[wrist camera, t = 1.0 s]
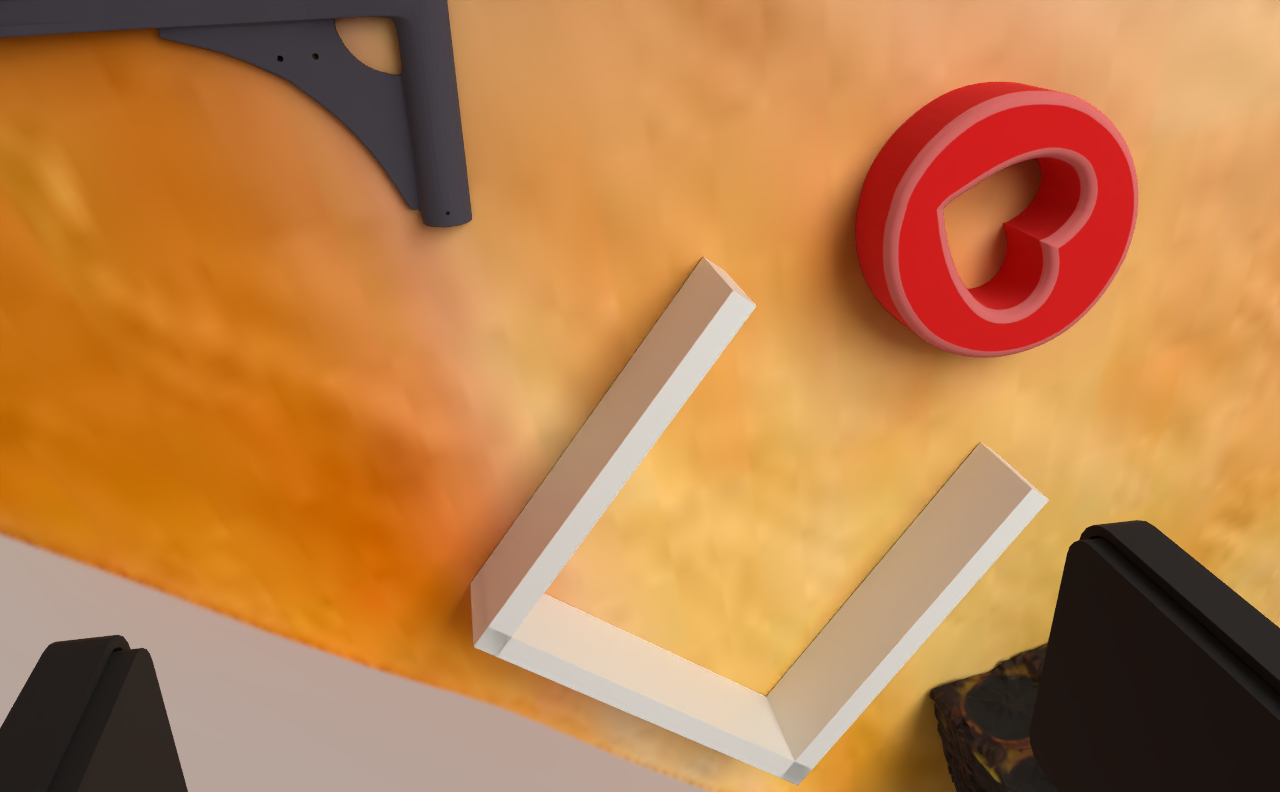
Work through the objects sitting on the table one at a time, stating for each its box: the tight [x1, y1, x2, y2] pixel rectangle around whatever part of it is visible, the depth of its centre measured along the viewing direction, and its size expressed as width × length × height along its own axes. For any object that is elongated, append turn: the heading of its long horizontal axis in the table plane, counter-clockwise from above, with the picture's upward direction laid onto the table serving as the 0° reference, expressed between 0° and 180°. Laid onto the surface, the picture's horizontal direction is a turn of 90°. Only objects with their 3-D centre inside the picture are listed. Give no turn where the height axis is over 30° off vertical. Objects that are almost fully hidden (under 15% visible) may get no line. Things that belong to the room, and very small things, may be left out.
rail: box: [470, 257, 1049, 785], centre depth 38 cm, size 16×16×4 cm
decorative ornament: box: [855, 82, 1138, 358], centre depth 36 cm, size 10×10×3 cm
